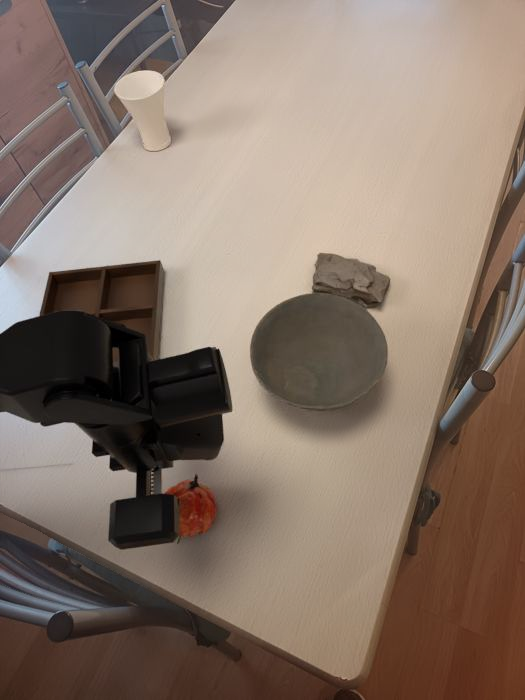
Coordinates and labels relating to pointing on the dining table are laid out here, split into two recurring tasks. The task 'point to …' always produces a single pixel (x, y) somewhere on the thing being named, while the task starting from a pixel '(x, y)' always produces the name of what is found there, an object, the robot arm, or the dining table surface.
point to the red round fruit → (194, 507)
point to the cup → (146, 106)
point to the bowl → (318, 351)
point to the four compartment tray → (113, 297)
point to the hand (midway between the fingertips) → (168, 473)
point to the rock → (349, 279)
